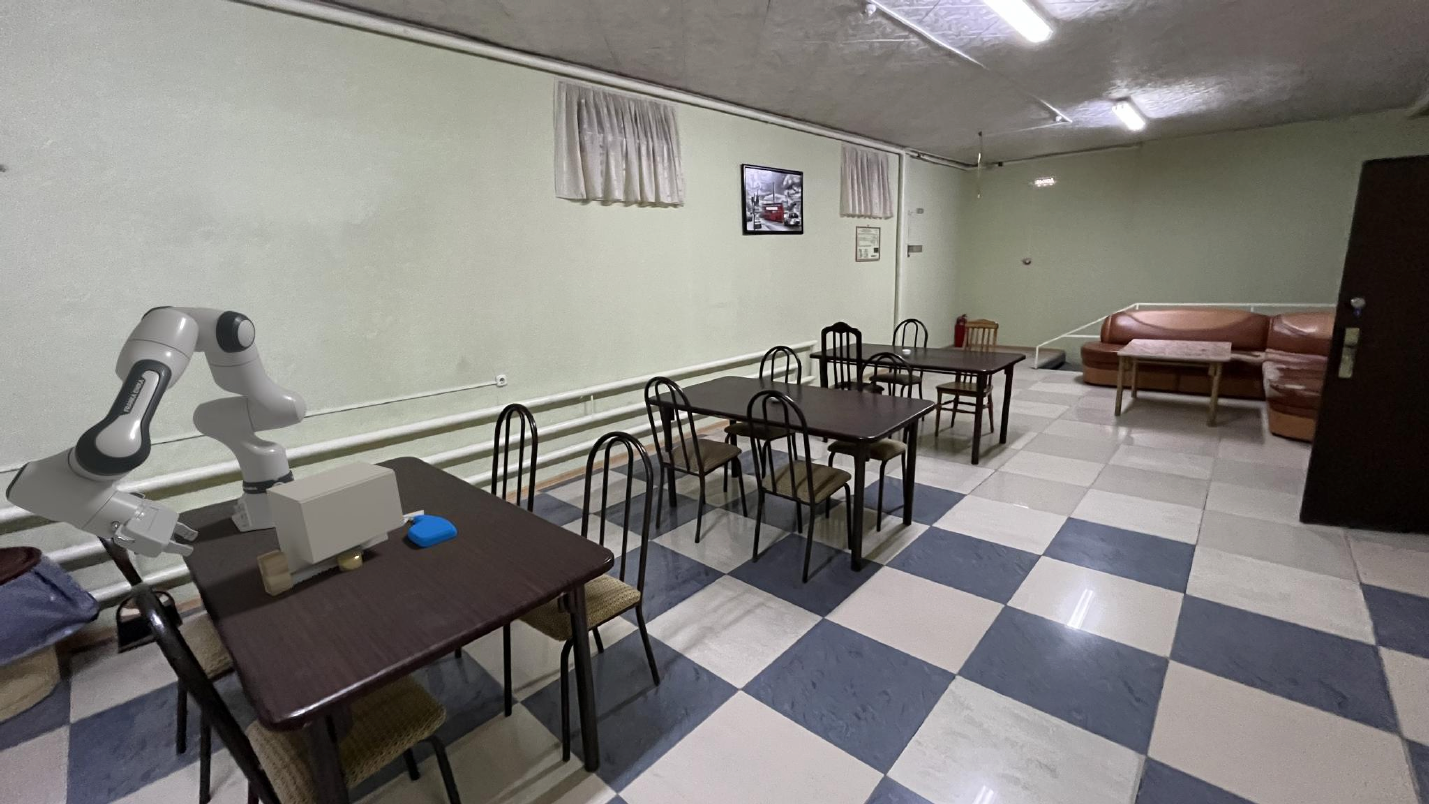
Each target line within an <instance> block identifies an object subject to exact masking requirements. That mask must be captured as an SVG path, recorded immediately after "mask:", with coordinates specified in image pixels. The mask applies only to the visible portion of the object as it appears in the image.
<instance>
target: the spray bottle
mask: <svg viewBox="0 0 1429 804" xmlns="http://www.w3.org/2000/svg"><path fill="white" fill-rule="evenodd" d="M403 519H404V525H405V524H406V523H407V522H408V521H412V520H413V521H412V522H413V523H414V524H413V525H412V526H411V527H410V528H409V530H408V532H407V537H408V539H410V541H411V542H413V543H414V544H416V545H418V546H419V547H422V548H427V547H431V546H434V545H437V544H441V543H443V542H445V541H448V540H451V539H453V538H455V537H456V536H457V534H458V531H457V529H456V527H455V526H454V525H453V524H452V523H451V522H450V521H449V520H447V519H445V518H443V517H441V516H434V515H427V514H425V510H424V509H422V510H418V511H413V512H410V513H406V514H403Z"/></svg>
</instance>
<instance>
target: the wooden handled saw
mask: <svg viewBox="0 0 1429 804" xmlns="http://www.w3.org/2000/svg"><path fill="white" fill-rule="evenodd" d="M350 551H360V552H361V556H362V555H364V553H365V552H364V550H363V548H362V546H361V545H357V546H354V547H352V548H350V549H347V550H345V551H343V552H340V553H338V554H336V555H333V556H331V557H329V558H326V559H324V560H322V561H319V562H317V563H315V564H311V565H308V566H306V567H304V568H301V569H299V570H297V571H294V572H292V573H290V572H289V568H288V564H287V560H286V556H285V553H284V552H281V550H279V549H275V550H274V549H273V550H272V551H269V552H266V553H264V554H261V555H258V556H256V559H257V562H258V567H259V571H260V574H261V578H262V582H263V586H264V589H265V592H266V593H268V594H270V596H273V597H275V596H277V595H279V594H282V593H283V591H284V592H285V591H288V590H291V589H293V588H294V585H297V584H299V583H301V582H303V580H304V581H306V580H308V579H311V578H313V577H315V576H317V575H319V574H318V573H320V574H322V573H323V572H322V571H324V572H326V571H329V570H330V569H329V568H331V569H333V568H335V567H337V566H338V567H339V564H338V560H337V558H338V557H339V556H340V555H342V554H344V553H347V552H350ZM328 569H329V570H328ZM321 572H322V573H321ZM314 575H315V576H314ZM312 576H313V577H312ZM298 582H299V583H298ZM292 587H293V588H292ZM290 588H291V589H290Z"/></svg>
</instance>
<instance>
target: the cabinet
mask: <svg viewBox="0 0 1429 804" xmlns="http://www.w3.org/2000/svg"><path fill="white" fill-rule="evenodd" d="M398 487H399V486H398V481H397V477H396V471H394V469H392V468H388V467H384V466H380V465H377V464H373V463H370V462H369V463H368V462H365V461H361V460H357V461H353V462H350V463H348V464H344V465H341V466H338V467H334V468H331V469H328V470H326V471H322V472H319V473H315V474H311V475H308V476H305V477H302V478H299V479H296V480H295V479H294V481H291V482H288V483H285V484H282V485H278V486H275V487H272V488H269V489H266V491H267V495H268V499H269V503H270V507H271V512H272V516H273V520H274V524H275V527H274V528H275V532H276V536H277V539H278V545H279V547H280V551H281V552H284V553H285V556H286V560H287V564H288V568H289V572H290V573H292V572H294V571H297V570H299V569H301V568H304V567H306V566H308V565H311V564H315V563H317V562H319V561H322V560H324V559H326V558H329V557H331V556H333V555H336V554H338V553H340V552H343V551H345V550H347V549H350V548H352V547H354V546H357V545H361V546H362V548H363V551H364V550H366V549H368V548H370V547H373V546H375V545H377V544H380V543H382V542H384V541H387V540H389V536H388V533H389V532H392V531H393V530H397V529H398V528H401V527H404V526H405V524H404V519H403V515H404V514H403V509H402V505H401V499H400V493H399V488H398Z"/></svg>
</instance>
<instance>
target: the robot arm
mask: <svg viewBox="0 0 1429 804" xmlns="http://www.w3.org/2000/svg"><path fill="white" fill-rule="evenodd" d="M127 337H128V338H127V339H126V341H125V342H124V344H123V345H122V348H121V350H120V352H119V354H118V358H117V361H116V365H115V369H114V370H115V371H114V373H115V374H116V375H117V377H118V379H119V380H120V381H122V384H121V387H120V389H119V391H118V392H117V395H116V397H115V399H114V400H113V403H112V405H111V407H110V408H109V411H108V413H107V414H106V415H105V417H104V418H103V419H102V420H100V421H99V422H97V423H96V424H94V425H92V426H91V427H89V428H88V429H87V430H85V432H83V433H82V434H81V435H80V437H79V438H78V440H77V442H76V444H75V445H74V446H71V447H69V448H67V449H65V450H62V451H60V452H58V453H56V454H53V455H50V456H48V457H44V458H40V459H38V460H32V461H28V462H26V463H25V464H24V465H22V466H21V467H20V469H19V470H18V471H17V473H16V474H15V476H14V477H13V479H11V481H10V483H9V484H8V485H7V488H5V489H6V490H5V497H6V500H7V501H8V502H9V503H11V504H12V505H14V506H16V507H18V508H20V509H22V510H24V511H26V512H29V513H32V514H34V515H36V516H39V517H41V518H45V519H47V520H49V521H56V522H63V523H67V524H69V525H71V526H73V527H74V528H75V529H77V530H80V531H82V532H86V533H89V534H91V535H94V536H96V537H99V538H103V539H105V540H108V541H109V540H111V539H112V538H113V541H114V543H115V544H116V545H117V546H120V547H122V548H123V549H126V550H128V551H131V552H133V553H136V554H139V555H141V556H144V557H147V558H152V559H153V558H154V559H155V558H158V557H159V556H160V555H161V553H162V552H164V553H167V554H173V555H174V554H175V555H180V556H184V557H189V556H190V555H191V554H192V553H193V551H194V546H192V545H189V544H187V543H184V544H181V543H179V542H176V540H172V539H171V538H172V535H173V534H177V535H179V536H181V537H183V539H185V540H188V541H190V542H191V541H194V540H195V539H196V538H197V537H198V534H199V533H198V531H196V530H194V529H191V528H190V527H188V526H187V525H186V524H184V523H182V522H180V521H178V520H179V517H180V514H179V513H178V512H177V511H175V510H174V509H172V508H170V507H167V506H165V505H164V504H161V503H159V502H157V501H155V500H152V499H149V498H145V497H146V495H145V494H144V493H141V492H138V491H131V492H124V491H121V490H118V489H116V488H114V487H113V485H114V484H115V483H116V482H118V481H120V480H122V479H124V478H125V477H126V476H127V475H129V474H130V473H131V472H132V471H133V470H135V469H136V468H139V467H140V466H141V465H143V464H144V463H145V462H146V461H147V459H148V458H149V456H150V454H151V451H152V450H151V449H152V441H151V434H150V427H151V422H152V420H153V419H154V416H155V414H156V411H157V409H158V407H159V405H160V403H161V400H162V398H163V396H164V394H165V393H166V392H167V391H168V390H170V389H172V388H173V387H174V386H175V385H176V383H177V382H179V380H180V379H181V377H182V376H183V374H185V371H186V370H187V368H188V366H189V364H190V361H191V359H192V357H193V354H194V353H203V352H204V356H205V359H206V362H207V364H208V367H209V369H210V373H211V377H212V379H213V382H214V383H215V384H216V386H218V387H219V388H220V389H222V390H223V391H225V392H229V393H232V394H237V395H236V396H230V397H220V398H218V399H217V398H216V399H213V400H209V401H206V402H201V403H200V404H198V406H197V407H196V408H195V410H194V412H193V416H192V423H193V426H194V427H195V429H196V430H197V432H199V433H201V435H203V436H205V437H208V438H211V439H214V440H216V441H218V442H220V443H222V444H223V445H225V446H226V447H227V448H228V449H230V451H231V452H232V453H233V455H234V456H235V458H236V460H237V463H238V466H239V469H240V471H241V474H242V478H243V479H242V484H241V486H242V492H243V493H242V494H241V496H240V497H239V499H237V504H234V505H233V511H234V513H235V514H233V515H231V520H232V522H233V523H234V525H235V526H236V528H238V530H239V531H240V532H242V533H243V532H248V531H254V530H263V529H270V528H275V524H274V520H273V516H272V512H271V507H270V503H269V499H268V495H267V491H266V489H269V488H272V487H275V486H278V485H282V484H285V483H288V482H291V481H295V478H294V477H295V476H294V473H293V471H292V470H291V469H290V466H289V461H288V457H287V452H286V450H285V448H284V446H282V445H281V444H279V443H277V442H275V441H269V440H265V439H262V438H260V437H258V436H257V435H256V433H258V432H266V431H270V430H276V429H277V430H279V429H284V428H288V427H291V426H293V425H296V424H299V423H301V422H302V421H303V420H304V419H305V417H306V414H307V405H306V401H305V400H304V399H303V397H302V396H301V395H299V394H298V393H297V392H295V391H291V390H288V389H286V388H284V387H282V386H280V385H278V384H277V383H276V382H274V381H273V380H272V379H271V378H270V377H269V375H268V374H267V373H266V370H265V368H264V365H263V363H262V361H261V358H260V357H261V356H260V354H259V351H258V348H257V345H256V343H255V338H256V328H255V325H254V323H253V321H252V320H251V319H250V318H249V317H248V316H247V315H245V314H244V313H240V312H238V311H233V310H223V309H217V308H209V307H201V306H198V307H192V306H191V307H190V306H173V305H172V306H171V305H163V306H155V307H152V308H150V309H148V310H147V311H146V312H145V313H144V314H143V316H142V317H141V319H140V322H139V323H138V324H137V325H136V326H135V327H134V329H133V330H132V331H131V333H130V334H129V336H127ZM238 395H239V396H238Z"/></svg>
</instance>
